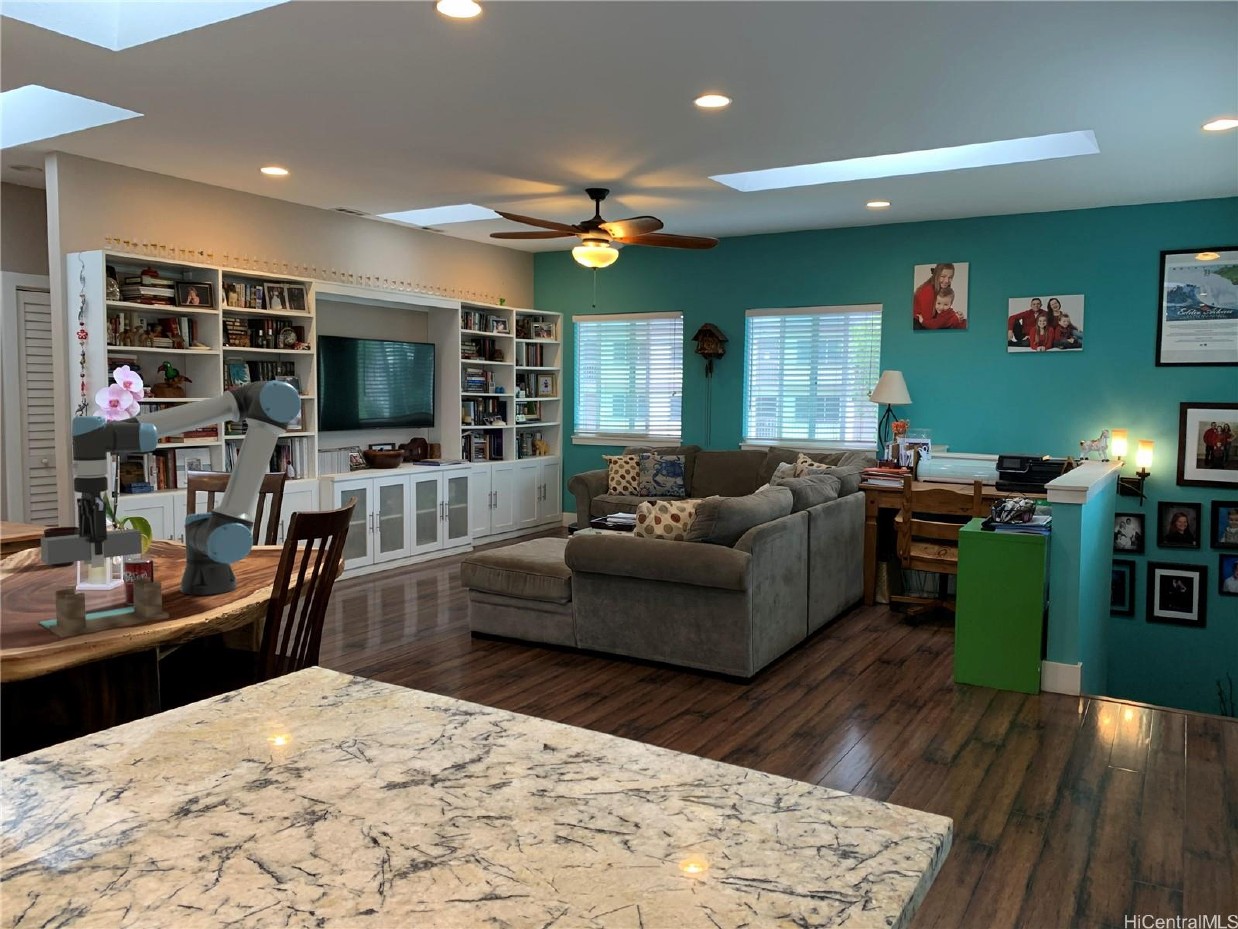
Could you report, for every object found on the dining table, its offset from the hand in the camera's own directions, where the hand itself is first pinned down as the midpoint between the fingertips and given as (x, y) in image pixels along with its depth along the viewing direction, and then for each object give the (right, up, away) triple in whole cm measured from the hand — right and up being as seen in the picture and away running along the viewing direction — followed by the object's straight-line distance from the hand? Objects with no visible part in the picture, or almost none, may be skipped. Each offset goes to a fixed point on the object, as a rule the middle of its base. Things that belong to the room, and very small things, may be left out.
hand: (93, 565), depth 233 cm
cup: (-50, -7, +68) cm, 84 cm away
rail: (0, +2, 0) cm, 2 cm away
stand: (+7, -14, -5) cm, 17 cm away
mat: (0, -14, +1) cm, 14 cm away
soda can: (+3, -12, +17) cm, 21 cm away
